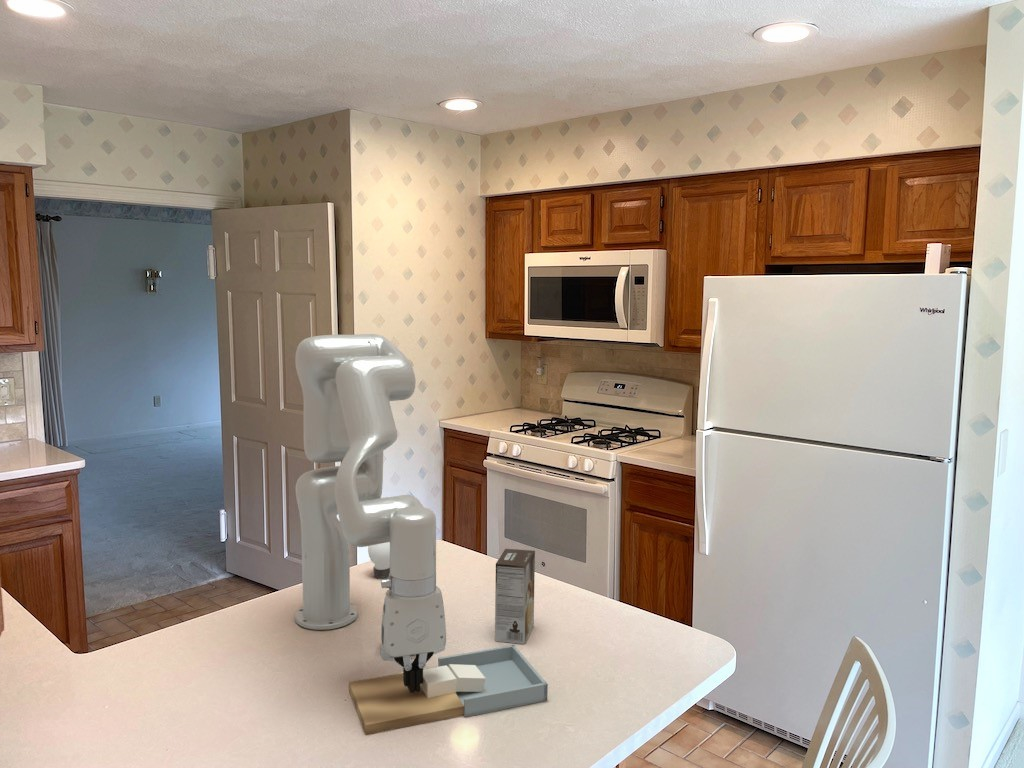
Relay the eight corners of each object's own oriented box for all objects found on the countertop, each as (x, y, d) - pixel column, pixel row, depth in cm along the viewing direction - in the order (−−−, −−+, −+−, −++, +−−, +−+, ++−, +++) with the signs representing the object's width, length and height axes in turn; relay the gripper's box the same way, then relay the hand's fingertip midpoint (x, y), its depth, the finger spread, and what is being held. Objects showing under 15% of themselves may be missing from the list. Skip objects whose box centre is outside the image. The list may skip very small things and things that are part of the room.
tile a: (418, 683, 135) (418, 670, 135) (446, 678, 137) (446, 665, 137) (427, 698, 131) (427, 684, 130) (456, 692, 133) (456, 678, 132)
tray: (438, 673, 142) (438, 657, 142) (513, 660, 148) (513, 644, 147) (464, 717, 128) (465, 699, 128) (547, 700, 134) (547, 684, 133)
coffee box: (503, 622, 164) (505, 547, 162) (534, 625, 163) (535, 549, 160) (493, 641, 155) (495, 562, 153) (526, 645, 154) (527, 565, 151)
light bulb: (364, 580, 185) (363, 534, 184) (373, 569, 192) (373, 525, 190) (391, 582, 184) (391, 536, 183) (400, 571, 191) (400, 527, 189)
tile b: (446, 677, 138) (448, 664, 137) (472, 678, 140) (475, 665, 140) (455, 691, 133) (458, 677, 133) (482, 691, 135) (485, 678, 135)
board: (349, 691, 136) (349, 682, 135) (439, 675, 142) (439, 666, 141) (365, 734, 123) (365, 725, 123) (463, 715, 129) (463, 706, 128)
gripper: (372, 597, 124) (373, 707, 126) (463, 585, 129) (462, 691, 131) (363, 580, 131) (364, 685, 133) (450, 569, 136) (449, 670, 138)
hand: (413, 688), depth 132 cm, fingers closed
